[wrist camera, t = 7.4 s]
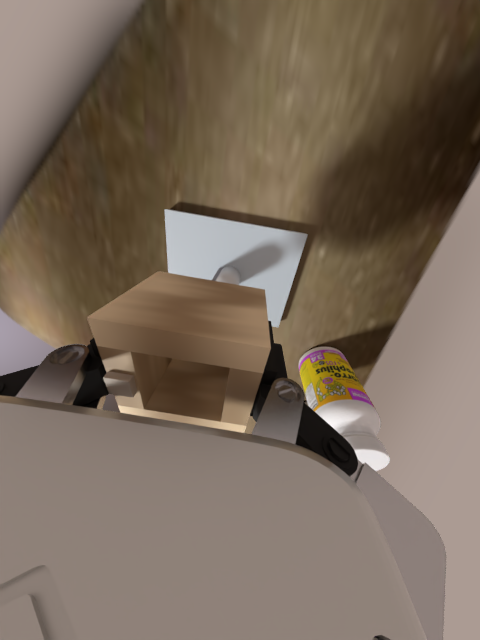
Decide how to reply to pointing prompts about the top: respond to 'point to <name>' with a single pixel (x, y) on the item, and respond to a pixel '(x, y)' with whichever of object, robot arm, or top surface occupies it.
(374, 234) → the top surface
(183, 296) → the wooden hollow box
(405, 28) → the top surface
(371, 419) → the supplement bottle
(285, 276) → the shaft block
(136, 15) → the top surface
